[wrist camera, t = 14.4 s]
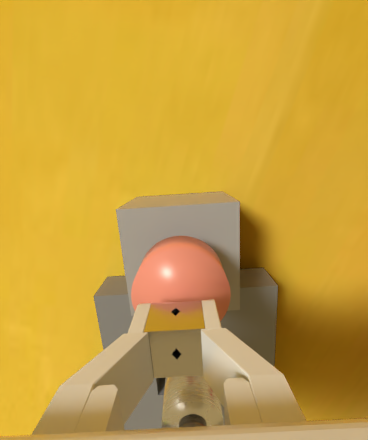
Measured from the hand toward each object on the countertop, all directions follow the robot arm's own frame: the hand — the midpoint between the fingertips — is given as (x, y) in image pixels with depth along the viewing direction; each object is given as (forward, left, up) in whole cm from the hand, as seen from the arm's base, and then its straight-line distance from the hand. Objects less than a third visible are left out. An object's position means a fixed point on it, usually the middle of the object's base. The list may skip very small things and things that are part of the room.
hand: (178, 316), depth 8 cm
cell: (+10, 0, -10) cm, 14 cm away
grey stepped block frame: (+7, 0, -10) cm, 12 cm away
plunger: (0, 0, -3) cm, 3 cm away
